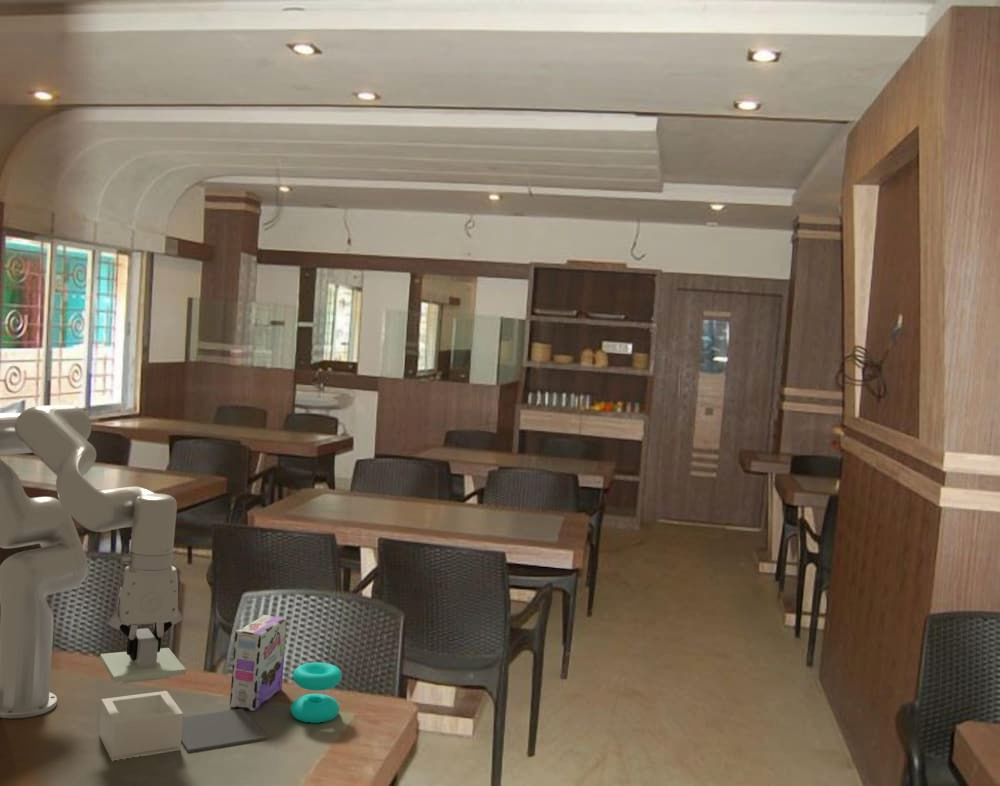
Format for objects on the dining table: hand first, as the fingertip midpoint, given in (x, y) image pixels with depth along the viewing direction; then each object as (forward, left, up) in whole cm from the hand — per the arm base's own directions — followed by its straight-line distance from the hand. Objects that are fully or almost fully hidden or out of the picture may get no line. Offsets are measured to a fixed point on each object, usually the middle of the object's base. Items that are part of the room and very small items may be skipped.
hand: (142, 656), depth 175 cm
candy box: (+27, +13, -17) cm, 34 cm away
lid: (0, 0, -3) cm, 3 cm away
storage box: (0, 0, -16) cm, 16 cm away
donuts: (+35, 0, -17) cm, 39 cm away
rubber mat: (+15, 0, -16) cm, 22 cm away
